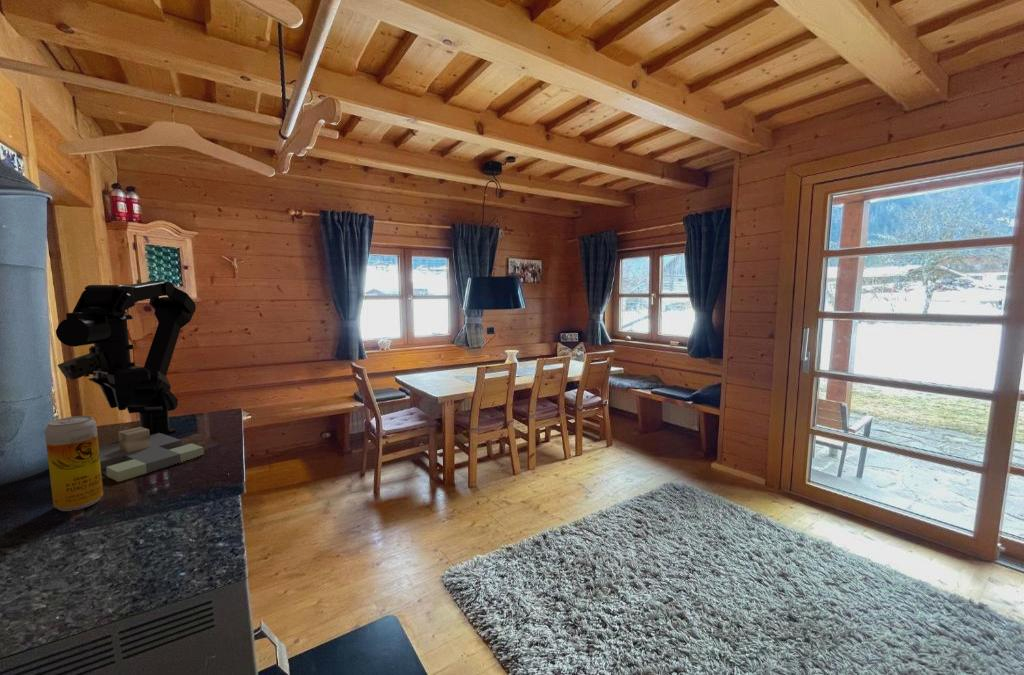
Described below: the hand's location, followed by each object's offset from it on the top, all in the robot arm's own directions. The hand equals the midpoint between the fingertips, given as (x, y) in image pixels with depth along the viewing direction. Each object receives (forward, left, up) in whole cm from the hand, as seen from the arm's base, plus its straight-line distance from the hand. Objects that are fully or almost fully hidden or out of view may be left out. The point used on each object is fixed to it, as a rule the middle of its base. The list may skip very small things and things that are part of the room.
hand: (118, 408), depth 97 cm
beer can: (+24, -14, -10) cm, 30 cm away
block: (+7, 0, -8) cm, 11 cm away
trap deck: (+9, 0, -10) cm, 14 cm away
